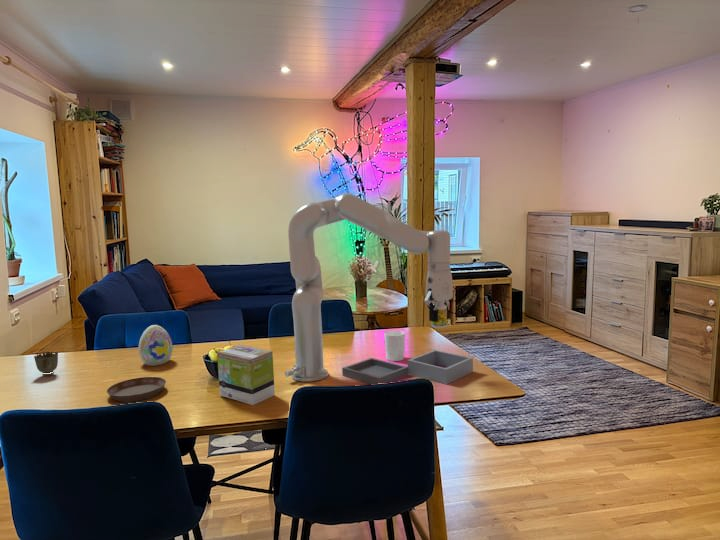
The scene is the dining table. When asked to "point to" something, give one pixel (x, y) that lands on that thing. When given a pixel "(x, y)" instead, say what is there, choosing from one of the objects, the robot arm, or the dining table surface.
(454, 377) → the gray square frame
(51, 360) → the cup
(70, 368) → the dining table surface
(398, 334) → the white cup
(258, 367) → the tea box
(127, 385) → the plant saucer
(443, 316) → the supplement bottle
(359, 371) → the tray
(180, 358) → the dining table surface
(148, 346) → the decorative egg
